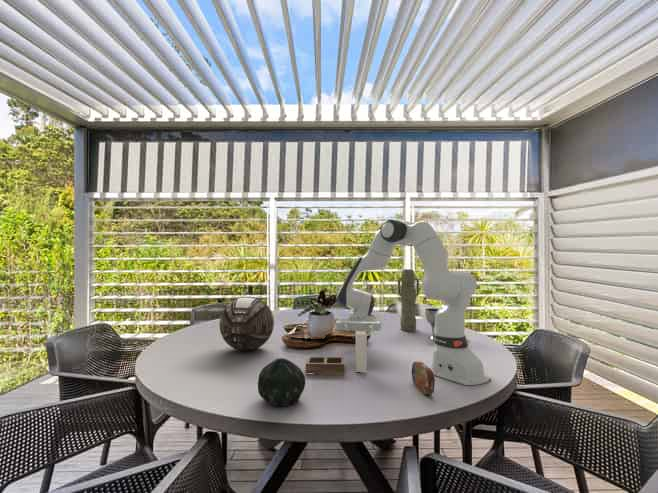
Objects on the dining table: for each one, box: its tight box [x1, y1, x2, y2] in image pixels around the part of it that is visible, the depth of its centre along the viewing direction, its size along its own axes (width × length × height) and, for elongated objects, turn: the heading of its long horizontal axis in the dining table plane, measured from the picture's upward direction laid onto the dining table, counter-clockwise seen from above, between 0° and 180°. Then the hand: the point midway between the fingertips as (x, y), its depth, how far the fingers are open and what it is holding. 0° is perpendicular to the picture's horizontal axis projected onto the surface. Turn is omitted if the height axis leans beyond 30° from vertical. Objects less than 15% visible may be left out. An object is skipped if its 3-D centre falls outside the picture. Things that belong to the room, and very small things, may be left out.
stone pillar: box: [397, 268, 420, 333], centre depth 209 cm, size 9×12×35 cm
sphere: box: [219, 296, 275, 352], centre depth 170 cm, size 25×25×25 cm
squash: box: [257, 357, 306, 407], centre depth 114 cm, size 14×15×15 cm
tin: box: [411, 361, 436, 395], centre depth 123 cm, size 15×3×8 cm, turn 7°
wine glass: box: [424, 307, 439, 341], centre depth 191 cm, size 8×8×15 cm
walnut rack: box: [305, 356, 345, 375], centre depth 142 cm, size 9×15×4 cm, turn 88°
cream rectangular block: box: [355, 331, 368, 373], centre depth 141 cm, size 5×4×15 cm
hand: (358, 329), depth 154 cm, fingers open, 8 cm apart
